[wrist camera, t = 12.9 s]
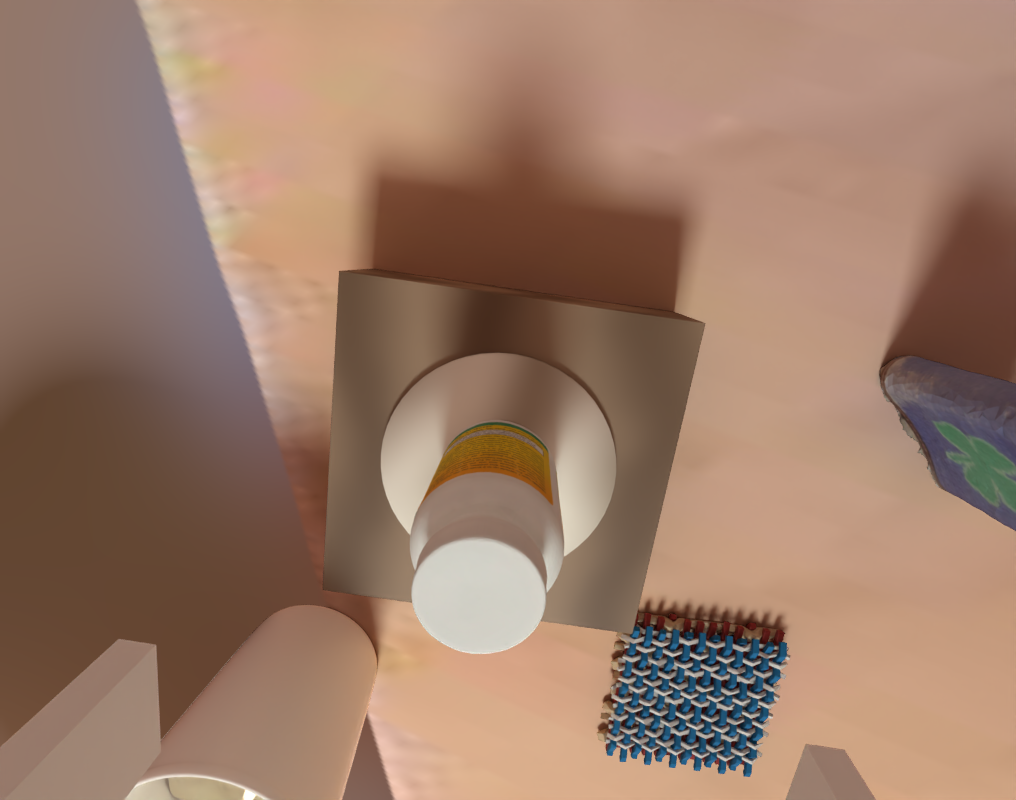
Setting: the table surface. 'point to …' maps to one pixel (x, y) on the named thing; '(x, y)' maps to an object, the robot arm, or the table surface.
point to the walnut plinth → (510, 397)
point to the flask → (960, 429)
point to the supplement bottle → (487, 539)
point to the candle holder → (273, 716)
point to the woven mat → (723, 703)
